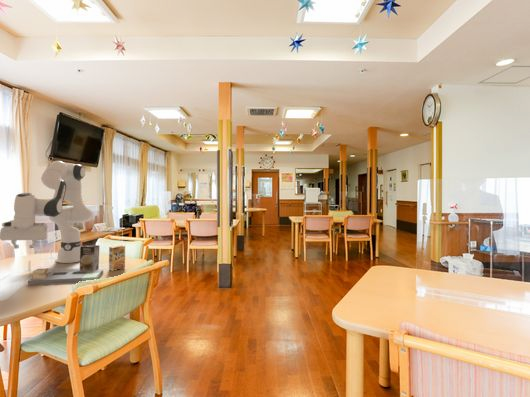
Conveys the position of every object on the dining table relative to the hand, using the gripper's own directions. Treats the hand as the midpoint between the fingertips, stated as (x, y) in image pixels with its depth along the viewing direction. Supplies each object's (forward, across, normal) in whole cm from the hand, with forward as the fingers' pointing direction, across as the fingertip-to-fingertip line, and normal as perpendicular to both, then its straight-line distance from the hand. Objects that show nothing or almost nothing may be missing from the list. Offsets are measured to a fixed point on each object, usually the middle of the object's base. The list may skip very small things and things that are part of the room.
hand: (24, 248), depth 150 cm
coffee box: (+19, -26, -20) cm, 38 cm away
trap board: (+19, -20, -4) cm, 28 cm away
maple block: (+17, -8, 0) cm, 18 cm away
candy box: (+19, -42, -20) cm, 51 cm away
